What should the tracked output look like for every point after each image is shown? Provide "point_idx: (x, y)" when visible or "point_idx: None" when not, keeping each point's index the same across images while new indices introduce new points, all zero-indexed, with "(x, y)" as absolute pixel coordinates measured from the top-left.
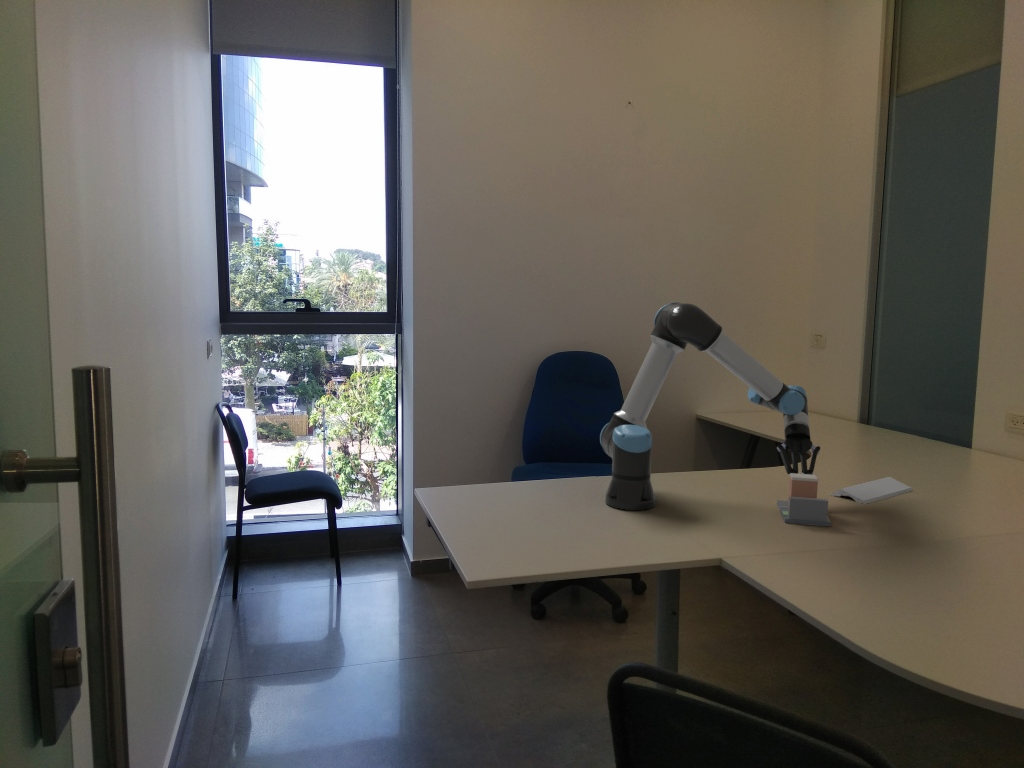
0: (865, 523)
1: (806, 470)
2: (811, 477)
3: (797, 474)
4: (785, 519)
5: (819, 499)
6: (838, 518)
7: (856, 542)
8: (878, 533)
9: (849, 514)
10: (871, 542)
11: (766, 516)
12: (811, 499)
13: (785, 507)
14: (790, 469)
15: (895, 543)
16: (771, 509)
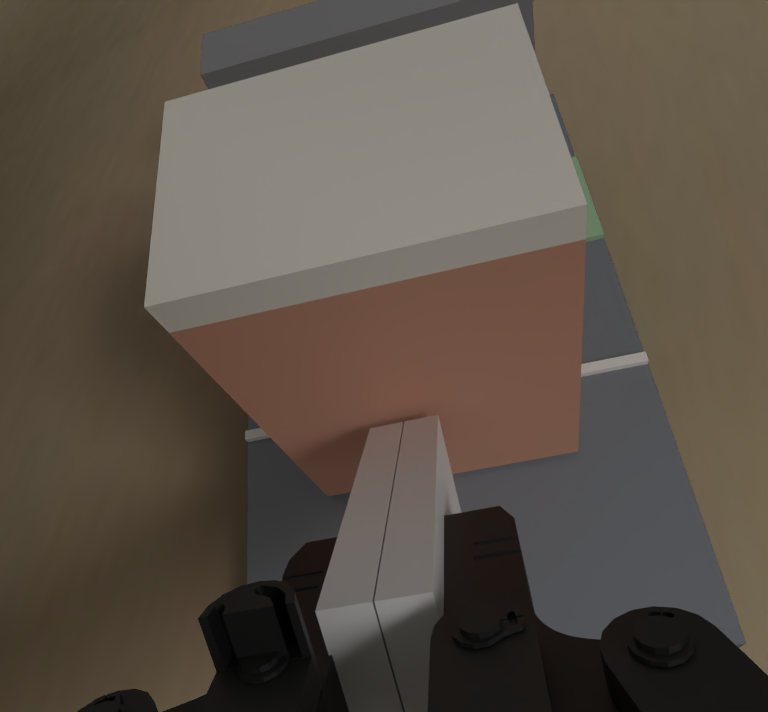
0: (12, 367)
1: (236, 608)
2: (238, 129)
3: (444, 184)
4: (551, 98)
5: (266, 36)
6: (163, 399)
7: (182, 42)
8: (19, 213)
9: (39, 561)
10: (111, 75)
11: (721, 185)
12: (334, 4)
13: (592, 364)
14: (638, 624)
15: (5, 116)
16: (736, 400)
